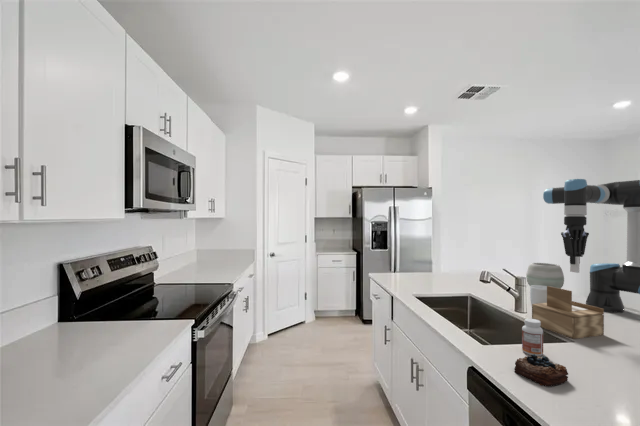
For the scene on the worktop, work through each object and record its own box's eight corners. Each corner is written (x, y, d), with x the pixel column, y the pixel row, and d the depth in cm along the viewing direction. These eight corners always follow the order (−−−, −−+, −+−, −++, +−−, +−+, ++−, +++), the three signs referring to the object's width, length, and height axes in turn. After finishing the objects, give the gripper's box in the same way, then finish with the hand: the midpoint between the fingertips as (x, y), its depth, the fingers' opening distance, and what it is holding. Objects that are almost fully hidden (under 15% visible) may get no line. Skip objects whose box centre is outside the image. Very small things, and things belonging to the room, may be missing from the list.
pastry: (548, 390, 90) (548, 368, 90) (508, 371, 101) (508, 352, 101) (573, 382, 95) (573, 362, 95) (532, 365, 106) (532, 346, 106)
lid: (559, 302, 150) (559, 282, 150) (603, 314, 133) (603, 291, 133) (531, 305, 146) (532, 284, 146) (573, 317, 128) (573, 293, 128)
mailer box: (559, 321, 150) (559, 303, 150) (603, 335, 133) (603, 314, 133) (531, 324, 146) (531, 305, 146) (573, 338, 128) (573, 318, 128)
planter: (572, 312, 164) (572, 266, 164) (538, 312, 164) (539, 266, 164) (549, 303, 180) (550, 262, 180) (519, 303, 180) (519, 262, 181)
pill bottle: (529, 347, 119) (529, 316, 119) (547, 354, 114) (547, 321, 114) (518, 350, 116) (518, 319, 116) (536, 357, 111) (536, 324, 111)
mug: (537, 308, 170) (537, 283, 170) (563, 313, 161) (563, 286, 162) (526, 314, 161) (526, 286, 161) (553, 319, 152) (553, 291, 152)
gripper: (577, 216, 146) (577, 270, 146) (554, 215, 143) (554, 271, 142) (595, 216, 139) (595, 273, 139) (572, 215, 135) (572, 274, 135)
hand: (574, 271), depth 141 cm, fingers closed
